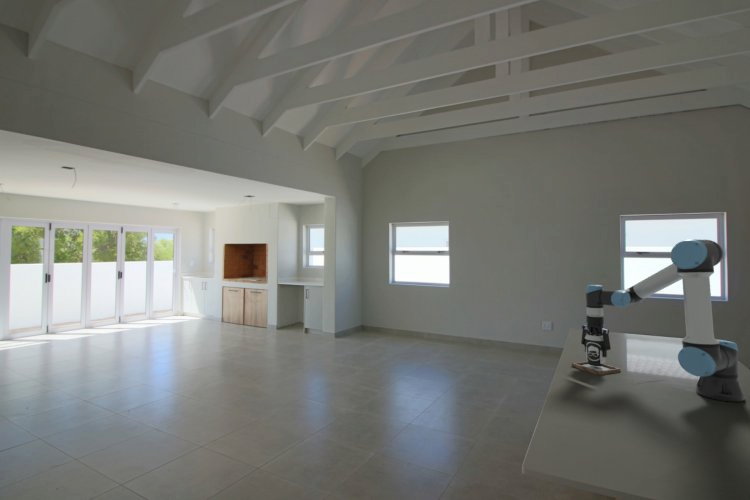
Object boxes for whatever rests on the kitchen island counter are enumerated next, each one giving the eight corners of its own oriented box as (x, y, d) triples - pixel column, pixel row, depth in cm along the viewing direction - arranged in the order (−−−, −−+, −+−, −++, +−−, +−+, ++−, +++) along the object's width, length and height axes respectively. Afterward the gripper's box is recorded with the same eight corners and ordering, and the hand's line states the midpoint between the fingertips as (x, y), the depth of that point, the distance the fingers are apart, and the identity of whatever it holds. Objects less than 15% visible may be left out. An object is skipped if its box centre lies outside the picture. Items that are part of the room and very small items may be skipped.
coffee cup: (610, 367, 193) (610, 336, 194) (591, 367, 194) (590, 336, 194) (600, 361, 203) (599, 332, 203) (581, 362, 203) (580, 332, 203)
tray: (620, 374, 193) (620, 368, 193) (599, 377, 188) (599, 371, 188) (592, 365, 208) (592, 360, 208) (572, 368, 203) (571, 363, 203)
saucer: (617, 371, 194) (617, 369, 194) (597, 374, 190) (597, 372, 190) (594, 364, 207) (594, 362, 207) (575, 367, 202) (575, 365, 202)
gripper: (619, 318, 190) (619, 366, 190) (583, 312, 209) (584, 355, 209) (607, 319, 188) (608, 367, 187) (572, 313, 207) (573, 357, 207)
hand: (595, 361), depth 198 cm, fingers open, 8 cm apart
